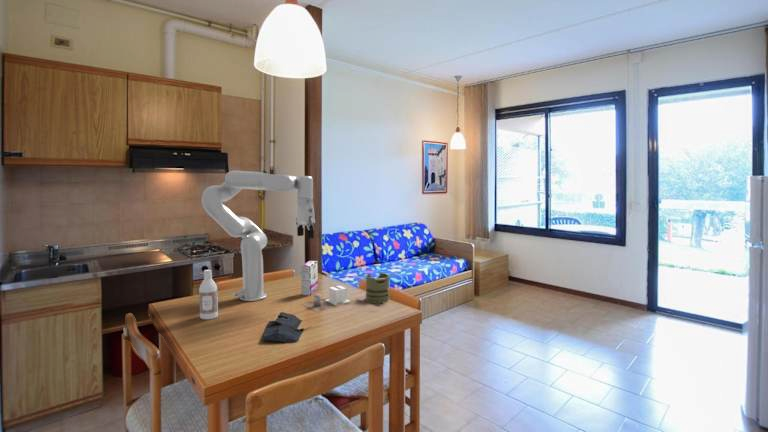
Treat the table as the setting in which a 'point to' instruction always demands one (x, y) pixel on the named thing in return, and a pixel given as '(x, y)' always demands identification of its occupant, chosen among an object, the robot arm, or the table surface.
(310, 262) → the candy bar box
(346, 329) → the table surface
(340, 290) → the white cube
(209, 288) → the bath foam
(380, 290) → the piston
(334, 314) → the table surface
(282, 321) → the dark slate chunk
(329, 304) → the post board
